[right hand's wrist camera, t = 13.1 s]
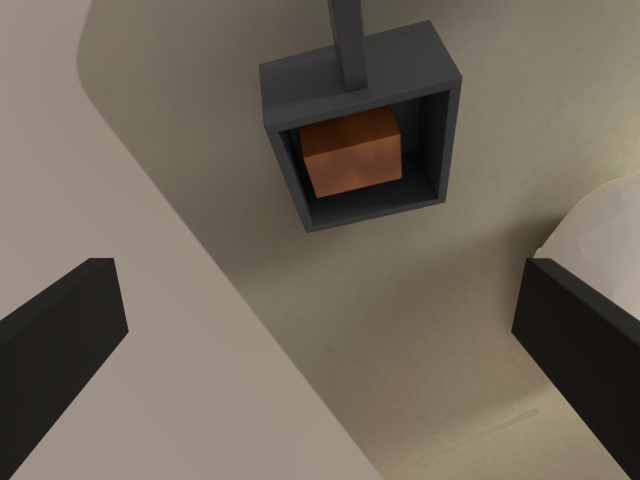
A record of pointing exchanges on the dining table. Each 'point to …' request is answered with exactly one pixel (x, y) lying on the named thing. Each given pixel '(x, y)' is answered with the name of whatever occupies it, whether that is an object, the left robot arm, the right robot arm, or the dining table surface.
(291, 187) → the bin
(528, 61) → the dining table surface
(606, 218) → the skull
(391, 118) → the block
